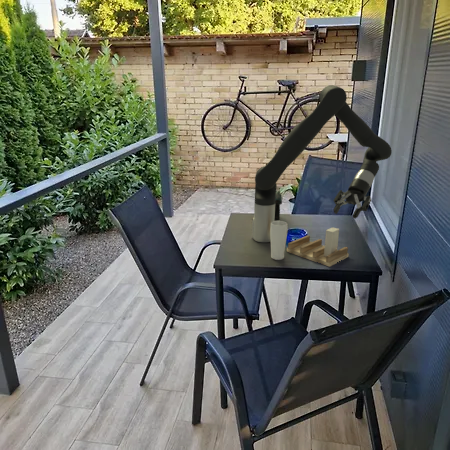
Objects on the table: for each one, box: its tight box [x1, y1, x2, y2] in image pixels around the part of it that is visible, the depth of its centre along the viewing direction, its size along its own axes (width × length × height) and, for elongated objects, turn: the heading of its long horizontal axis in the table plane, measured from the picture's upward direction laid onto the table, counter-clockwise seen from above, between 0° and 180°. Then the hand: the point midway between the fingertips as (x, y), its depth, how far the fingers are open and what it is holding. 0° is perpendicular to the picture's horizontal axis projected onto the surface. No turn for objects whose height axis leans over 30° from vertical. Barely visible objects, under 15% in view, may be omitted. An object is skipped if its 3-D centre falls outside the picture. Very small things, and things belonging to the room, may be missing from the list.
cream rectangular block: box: [324, 227, 340, 256], centre depth 158 cm, size 3×5×11 cm, turn 135°
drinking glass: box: [270, 220, 288, 261], centre depth 158 cm, size 7×7×15 cm
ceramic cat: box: [274, 183, 283, 221], centre depth 204 cm, size 20×6×20 cm, turn 179°
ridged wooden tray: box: [286, 234, 349, 267], centre depth 164 cm, size 21×14×4 cm, turn 44°
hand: (344, 215), depth 160 cm, fingers open, 8 cm apart
